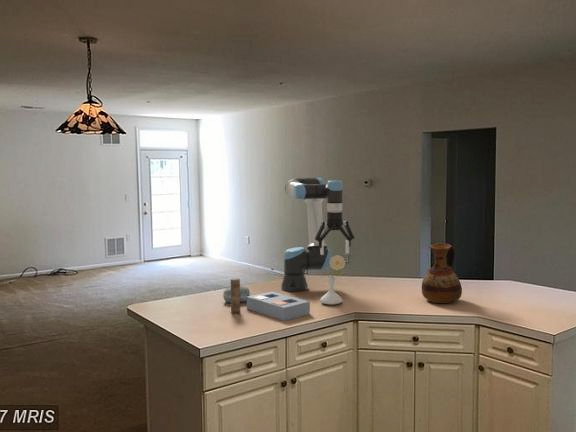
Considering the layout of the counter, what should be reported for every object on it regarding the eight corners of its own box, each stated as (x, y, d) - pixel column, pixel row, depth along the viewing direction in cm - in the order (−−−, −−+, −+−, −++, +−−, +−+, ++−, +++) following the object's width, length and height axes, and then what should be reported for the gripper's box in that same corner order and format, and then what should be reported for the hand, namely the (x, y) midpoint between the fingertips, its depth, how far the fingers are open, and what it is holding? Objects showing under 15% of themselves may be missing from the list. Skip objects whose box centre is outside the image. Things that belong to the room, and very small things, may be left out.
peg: (229, 312, 245) (228, 279, 243) (236, 310, 248) (236, 278, 246) (234, 314, 242) (234, 280, 240) (242, 312, 244) (241, 279, 243)
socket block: (246, 308, 251) (246, 296, 251) (271, 302, 262) (271, 290, 261) (283, 320, 230) (283, 307, 230) (309, 314, 241) (309, 300, 240)
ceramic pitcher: (414, 301, 263) (415, 243, 261) (432, 294, 278) (433, 239, 275) (450, 308, 250) (451, 247, 247) (467, 300, 265) (469, 242, 262)
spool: (250, 292, 272) (246, 278, 266) (252, 304, 264) (248, 290, 258) (225, 299, 270) (220, 285, 265) (227, 311, 263) (222, 297, 257)
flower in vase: (317, 305, 257) (317, 256, 255) (323, 299, 267) (323, 252, 265) (342, 307, 252) (342, 257, 250) (348, 301, 263) (348, 253, 261)
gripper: (313, 212, 248) (313, 256, 250) (360, 211, 255) (360, 253, 257) (308, 211, 255) (308, 253, 257) (354, 210, 262) (354, 251, 264)
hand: (334, 253), depth 257 cm, fingers open, 13 cm apart
